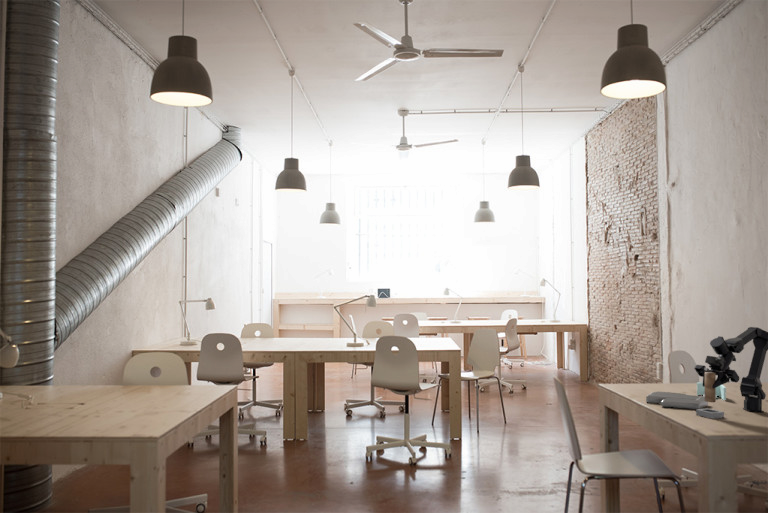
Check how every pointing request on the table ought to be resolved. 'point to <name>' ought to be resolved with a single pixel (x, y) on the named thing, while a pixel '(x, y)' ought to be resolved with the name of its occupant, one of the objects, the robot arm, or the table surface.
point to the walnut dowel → (710, 387)
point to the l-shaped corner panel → (719, 390)
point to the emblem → (677, 400)
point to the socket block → (710, 413)
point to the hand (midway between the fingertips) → (708, 386)
